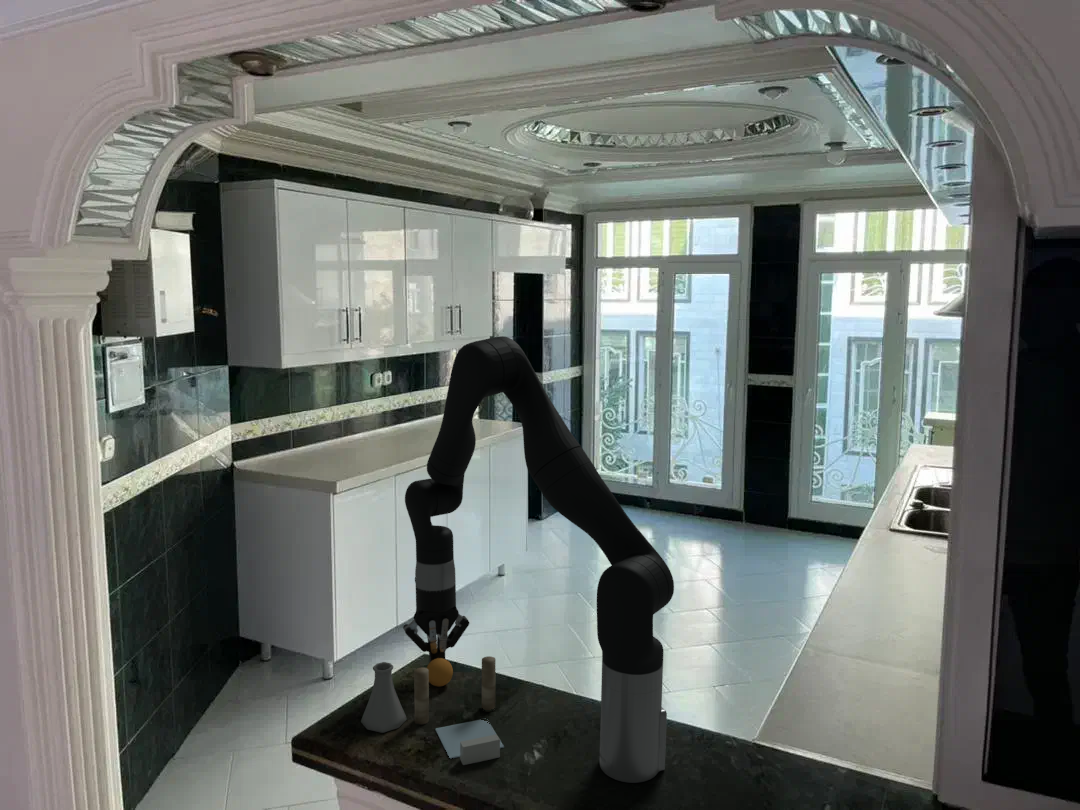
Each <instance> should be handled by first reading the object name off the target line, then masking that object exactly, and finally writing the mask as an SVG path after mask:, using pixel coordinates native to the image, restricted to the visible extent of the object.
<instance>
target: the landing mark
mask: <svg viewBox="0 0 1080 810" xmlns="http://www.w3.org/2000/svg"><path fill="white" fill-rule="evenodd" d="M488 721H489V720H488ZM488 721H484V720H481V719H476V720H472V721H465V722H462V723H456V724H451V725H447V726H442V727H441V726H440V727H437V728H434V729H435V732H436V734H437V735H438V738H439V740H440V743H441V745H442V747H443V749H444V750H446V751H445V753H446V752H447V753H446V754H447V756H449V757H448V759H449V758H450V760H451V759H452V758H453V759H456V758H457V759H458V758H460V742H461V741H466V740H471V739H476V738H481V737H486V736H491V735H495V734H497V733H496V731H495V730H494V728H493V725H491V723H490V722H488ZM487 722H488V723H487ZM489 723H490V724H489ZM504 748H505V746H504V744H503V743H502V740H500V749H504ZM453 759H452V760H453Z"/></svg>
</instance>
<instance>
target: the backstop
mask: <svg viewBox="0 0 1080 810" xmlns="http://www.w3.org/2000/svg"><path fill="white" fill-rule="evenodd" d="M500 741H501V739H500V737H499V736H498V734H497V733H496V734H495V735H491V736H486V737H481V738H476V739H471V740H466V741H461V742H460V757H459V760H460V762H461V764H462V765H463V766H466V765H471V764H476V763H480V762H485V761H488V760H493V759H498V758H500V757H501V748H500Z"/></svg>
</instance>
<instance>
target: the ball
mask: <svg viewBox="0 0 1080 810" xmlns="http://www.w3.org/2000/svg"><path fill="white" fill-rule="evenodd" d="M426 668H427V669H428V670H429V684H431V685H432V686H433V687H443V686H445V685H448V683H449V682H451V680H452V678H453V675H454V670H453V666H452V664H451V662H450V660H448V659H446V658H445V659H443V658H437V659H434V660H432V661H431V662H430V663H429V662H428V664H427V666H426Z"/></svg>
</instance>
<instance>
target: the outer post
mask: <svg viewBox="0 0 1080 810" xmlns="http://www.w3.org/2000/svg"><path fill="white" fill-rule="evenodd" d="M413 673H414V674H413V676H414V677H413V678H414V679H413V680H414V681H413V683H414V685H413V686H414V690H413V691H414V692H413V693H414V694H413V695H414V723H415V724H417V725H426V724H428V723H429V721H430V703H429V702H430V698H429V697H430V696H429V695H430V691H429V690H430V688H429V687H430V685H429V684H430V682H429V670H428V669H427V667H418V668H415V669H414V670H413Z"/></svg>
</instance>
